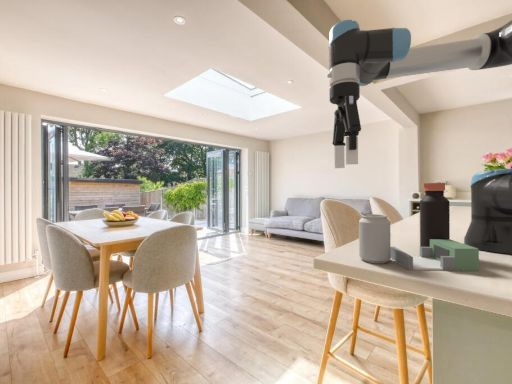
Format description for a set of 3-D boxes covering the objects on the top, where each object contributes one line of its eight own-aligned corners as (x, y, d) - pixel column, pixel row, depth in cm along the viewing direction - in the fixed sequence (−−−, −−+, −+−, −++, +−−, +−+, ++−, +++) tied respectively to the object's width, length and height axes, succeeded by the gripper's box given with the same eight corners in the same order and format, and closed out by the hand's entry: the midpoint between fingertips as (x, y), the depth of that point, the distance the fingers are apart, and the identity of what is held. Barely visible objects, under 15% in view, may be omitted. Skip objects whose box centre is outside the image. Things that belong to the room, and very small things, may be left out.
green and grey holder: (449, 258, 68) (449, 239, 67) (478, 270, 58) (478, 248, 57) (390, 257, 69) (390, 239, 69) (408, 269, 59) (408, 248, 59)
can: (394, 265, 63) (394, 216, 62) (362, 263, 64) (361, 216, 64) (385, 256, 70) (385, 213, 70) (356, 255, 72) (356, 213, 71)
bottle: (455, 257, 68) (455, 182, 68) (430, 257, 69) (430, 183, 68) (438, 250, 75) (438, 182, 75) (415, 250, 75) (414, 183, 75)
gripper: (322, 102, 80) (323, 169, 81) (339, 64, 55) (340, 162, 56) (347, 100, 79) (347, 168, 80) (376, 62, 55) (376, 161, 55)
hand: (345, 166), depth 68 cm, fingers open, 13 cm apart
